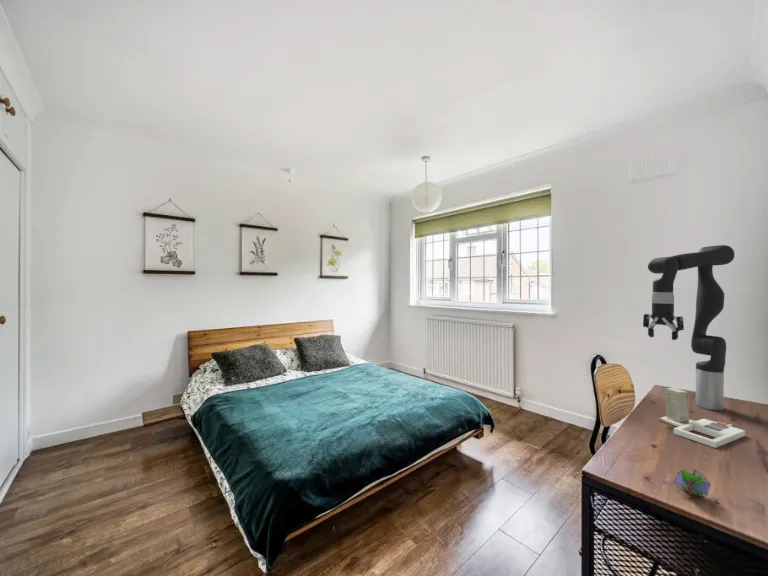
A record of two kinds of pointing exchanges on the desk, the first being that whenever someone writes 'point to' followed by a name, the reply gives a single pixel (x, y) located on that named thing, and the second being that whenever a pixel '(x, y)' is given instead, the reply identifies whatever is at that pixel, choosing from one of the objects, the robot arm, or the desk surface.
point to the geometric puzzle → (693, 482)
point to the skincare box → (677, 404)
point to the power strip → (710, 432)
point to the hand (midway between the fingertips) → (662, 338)
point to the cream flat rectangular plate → (674, 421)
